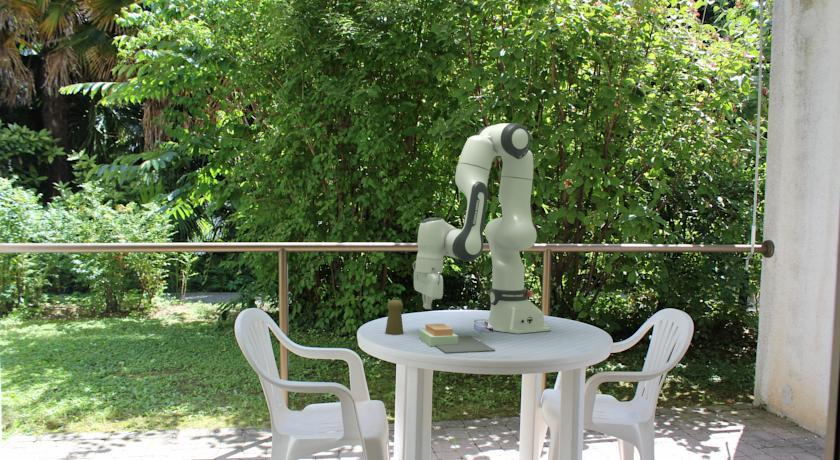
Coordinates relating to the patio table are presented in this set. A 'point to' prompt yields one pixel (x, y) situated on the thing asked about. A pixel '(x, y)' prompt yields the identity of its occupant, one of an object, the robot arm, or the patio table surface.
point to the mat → (465, 346)
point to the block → (439, 330)
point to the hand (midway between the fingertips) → (426, 308)
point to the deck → (437, 338)
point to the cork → (394, 318)
